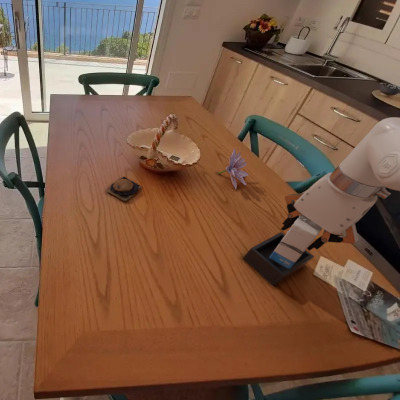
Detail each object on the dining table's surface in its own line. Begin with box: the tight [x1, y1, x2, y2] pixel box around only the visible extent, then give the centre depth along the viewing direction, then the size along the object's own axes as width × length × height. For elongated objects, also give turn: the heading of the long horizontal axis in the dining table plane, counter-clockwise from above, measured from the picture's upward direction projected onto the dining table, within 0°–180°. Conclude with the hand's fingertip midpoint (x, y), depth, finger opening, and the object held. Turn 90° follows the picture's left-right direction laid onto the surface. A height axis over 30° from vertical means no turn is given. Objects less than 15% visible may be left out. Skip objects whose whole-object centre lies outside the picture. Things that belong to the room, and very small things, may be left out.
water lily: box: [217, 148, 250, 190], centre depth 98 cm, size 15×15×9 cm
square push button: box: [107, 176, 141, 202], centre depth 90 cm, size 11×8×4 cm
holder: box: [242, 231, 315, 287], centre depth 71 cm, size 9×13×5 cm
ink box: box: [269, 214, 323, 269], centre depth 65 cm, size 9×5×12 cm, turn 129°
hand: (298, 237), depth 65 cm, fingers closed on ink box, 5 cm apart
